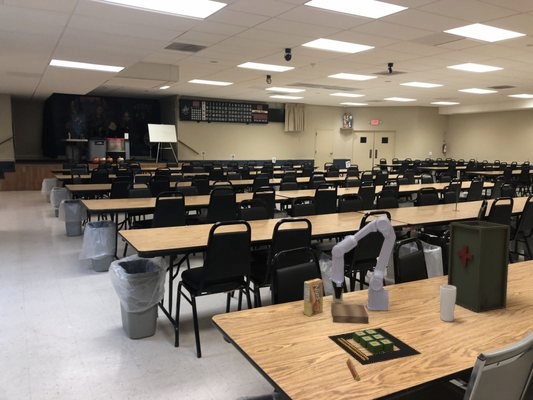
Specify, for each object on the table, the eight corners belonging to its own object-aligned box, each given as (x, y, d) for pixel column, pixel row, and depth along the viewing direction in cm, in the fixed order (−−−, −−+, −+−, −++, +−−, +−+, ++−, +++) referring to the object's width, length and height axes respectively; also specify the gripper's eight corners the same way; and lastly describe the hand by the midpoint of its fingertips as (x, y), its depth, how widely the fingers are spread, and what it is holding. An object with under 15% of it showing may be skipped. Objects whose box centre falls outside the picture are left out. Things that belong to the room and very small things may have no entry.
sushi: (327, 338, 170) (328, 329, 169) (380, 329, 178) (380, 321, 178) (362, 366, 146) (362, 356, 146) (421, 355, 155) (421, 345, 155)
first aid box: (505, 308, 203) (510, 225, 199) (477, 313, 196) (481, 228, 192) (474, 296, 220) (477, 220, 216) (446, 300, 213) (450, 222, 209)
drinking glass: (455, 318, 190) (456, 285, 188) (454, 323, 184) (456, 290, 182) (438, 316, 192) (440, 283, 191) (438, 321, 186) (439, 288, 185)
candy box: (316, 309, 200) (317, 278, 199) (323, 312, 197) (323, 280, 196) (303, 314, 195) (303, 281, 193) (309, 316, 192) (310, 283, 190)
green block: (341, 298, 210) (341, 288, 209) (342, 301, 205) (342, 291, 205) (332, 298, 210) (332, 288, 210) (333, 301, 206) (333, 291, 205)
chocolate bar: (353, 381, 136) (353, 374, 136) (345, 363, 148) (345, 357, 148) (361, 381, 136) (361, 374, 136) (352, 363, 148) (352, 357, 148)
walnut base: (363, 311, 198) (363, 305, 198) (368, 323, 184) (368, 316, 183) (331, 310, 200) (331, 304, 199) (333, 322, 185) (333, 315, 185)
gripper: (328, 265, 214) (328, 292, 215) (330, 273, 199) (330, 301, 201) (342, 266, 213) (342, 292, 214) (345, 273, 199) (345, 301, 200)
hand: (337, 296), depth 207 cm, fingers closed on green block, 4 cm apart
